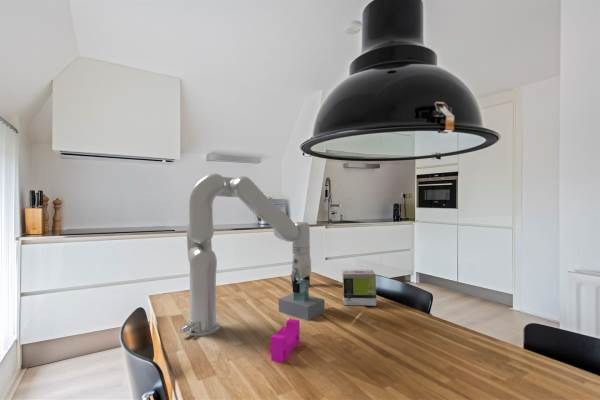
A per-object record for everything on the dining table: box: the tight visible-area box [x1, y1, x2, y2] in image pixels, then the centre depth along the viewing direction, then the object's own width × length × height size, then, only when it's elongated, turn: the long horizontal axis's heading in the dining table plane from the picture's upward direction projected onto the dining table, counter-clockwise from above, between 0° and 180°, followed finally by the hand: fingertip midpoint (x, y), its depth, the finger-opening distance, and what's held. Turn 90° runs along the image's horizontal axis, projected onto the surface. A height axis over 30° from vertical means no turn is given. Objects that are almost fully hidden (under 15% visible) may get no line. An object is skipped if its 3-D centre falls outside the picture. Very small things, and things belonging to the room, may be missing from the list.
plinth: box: [278, 292, 325, 321], centre depth 135 cm, size 12×16×6 cm
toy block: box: [269, 318, 301, 364], centre depth 101 cm, size 15×6×8 cm, turn 160°
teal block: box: [293, 279, 310, 302], centre depth 135 cm, size 5×5×8 cm
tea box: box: [341, 269, 377, 307], centre depth 147 cm, size 15×10×15 cm, turn 84°
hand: (301, 289), depth 135 cm, fingers open, 9 cm apart
